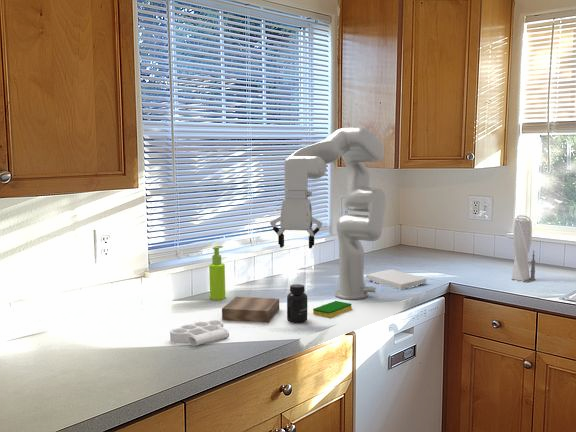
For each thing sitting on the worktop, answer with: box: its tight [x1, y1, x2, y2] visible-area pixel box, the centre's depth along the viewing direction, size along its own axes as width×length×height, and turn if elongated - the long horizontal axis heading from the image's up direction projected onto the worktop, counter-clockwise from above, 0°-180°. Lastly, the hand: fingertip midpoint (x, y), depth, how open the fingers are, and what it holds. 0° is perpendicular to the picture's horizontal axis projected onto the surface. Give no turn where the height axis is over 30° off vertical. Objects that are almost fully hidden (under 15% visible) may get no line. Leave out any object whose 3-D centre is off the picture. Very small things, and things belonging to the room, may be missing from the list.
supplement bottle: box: [286, 283, 308, 324], centre depth 200 cm, size 7×7×12 cm
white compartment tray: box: [169, 319, 230, 347], centre depth 185 cm, size 3×18×15 cm
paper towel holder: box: [511, 214, 537, 283], centre depth 254 cm, size 8×8×28 cm
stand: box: [221, 296, 280, 324], centre depth 208 cm, size 16×16×4 cm
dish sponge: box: [312, 300, 353, 319], centre depth 211 cm, size 7×14×2 cm, turn 140°
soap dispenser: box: [208, 245, 226, 301], centre depth 230 cm, size 6×7×20 cm
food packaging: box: [365, 268, 427, 290], centre depth 253 cm, size 15×3×20 cm
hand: (296, 247), depth 197 cm, fingers open, 9 cm apart
